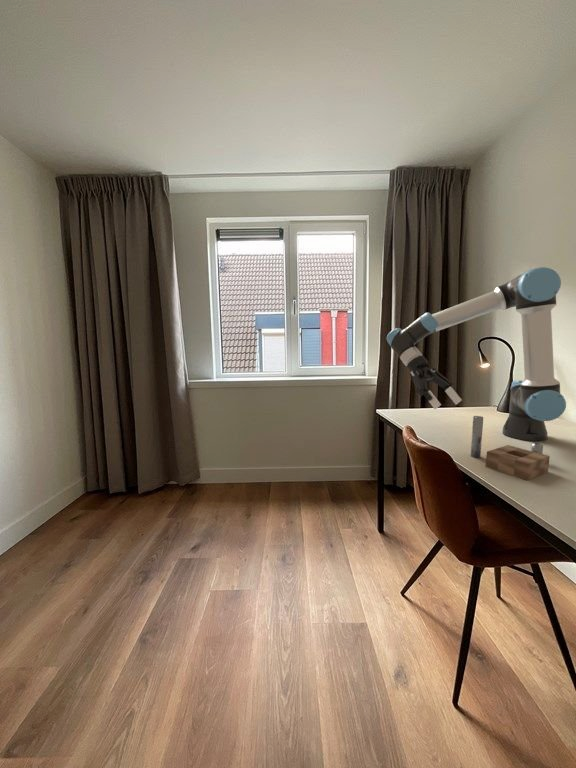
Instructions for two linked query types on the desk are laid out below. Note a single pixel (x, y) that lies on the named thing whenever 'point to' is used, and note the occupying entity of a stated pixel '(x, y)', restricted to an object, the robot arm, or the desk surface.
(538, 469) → the block
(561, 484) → the desk surface
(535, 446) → the short pin
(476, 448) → the long pin
